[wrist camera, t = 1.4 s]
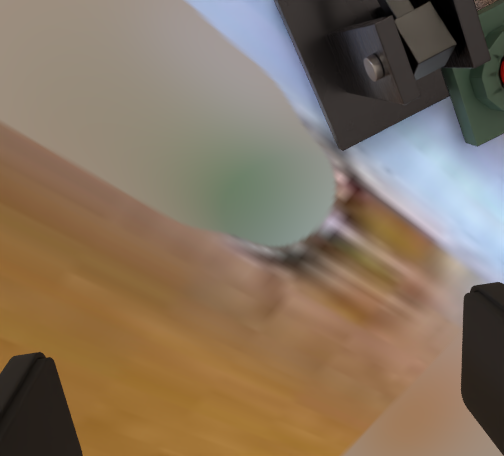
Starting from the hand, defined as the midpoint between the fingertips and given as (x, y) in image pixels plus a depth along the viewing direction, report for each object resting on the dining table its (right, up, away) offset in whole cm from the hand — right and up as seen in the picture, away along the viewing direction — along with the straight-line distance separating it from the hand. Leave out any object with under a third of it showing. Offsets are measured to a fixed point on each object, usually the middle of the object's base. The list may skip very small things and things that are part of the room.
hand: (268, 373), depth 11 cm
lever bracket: (+8, +17, +24) cm, 30 cm away
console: (+18, +16, +26) cm, 35 cm away
